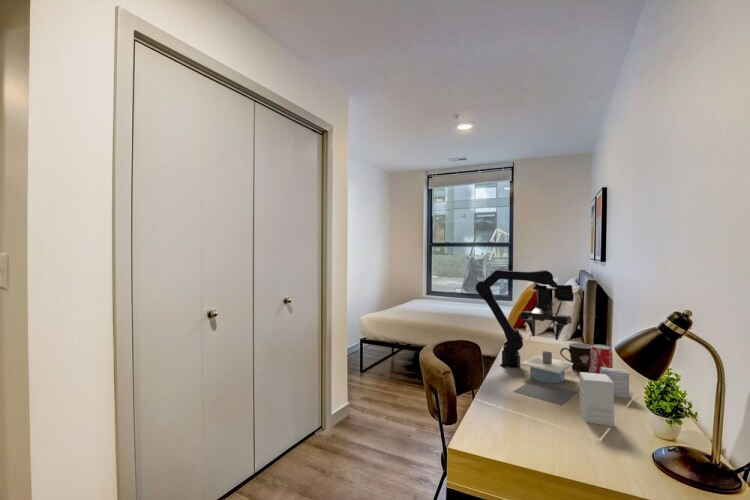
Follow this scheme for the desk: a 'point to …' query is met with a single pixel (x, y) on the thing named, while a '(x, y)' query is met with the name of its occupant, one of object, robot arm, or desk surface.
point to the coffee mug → (579, 356)
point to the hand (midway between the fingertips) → (544, 338)
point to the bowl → (547, 375)
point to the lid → (547, 363)
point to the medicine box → (618, 380)
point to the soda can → (600, 358)
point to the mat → (546, 392)
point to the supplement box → (597, 398)
